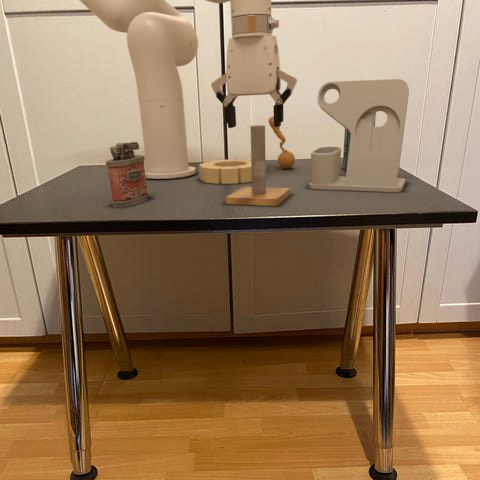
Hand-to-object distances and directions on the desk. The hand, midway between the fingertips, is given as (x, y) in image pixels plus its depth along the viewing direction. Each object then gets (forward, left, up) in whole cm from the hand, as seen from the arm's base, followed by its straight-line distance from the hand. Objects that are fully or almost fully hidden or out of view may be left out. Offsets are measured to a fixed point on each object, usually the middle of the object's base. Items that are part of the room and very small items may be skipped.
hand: (254, 126), depth 98 cm
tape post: (+6, -19, -10) cm, 23 cm away
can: (+19, +15, -11) cm, 27 cm away
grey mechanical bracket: (+21, -4, -11) cm, 24 cm away
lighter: (-16, -25, -11) cm, 31 cm away
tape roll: (-6, 0, -10) cm, 12 cm away
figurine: (+2, +13, -11) cm, 17 cm away
